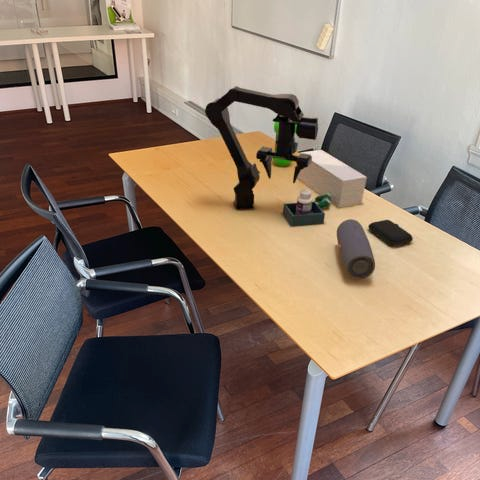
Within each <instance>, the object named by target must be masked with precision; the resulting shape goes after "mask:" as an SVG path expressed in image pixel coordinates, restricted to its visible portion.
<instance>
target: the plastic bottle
mask: <svg viewBox="0 0 480 480" xmlns="http://www.w3.org/2000/svg"><path fill="white" fill-rule="evenodd" d="M278 123H279V122H273V131H274V133H275V139H274V140H275V141H274V149H273V150H272V152H276V148H277V144H276V140H277V135H278ZM296 127H297V124H296V125H295V134H296ZM272 161H273V162H274V163H275V165H276V166H280V167H287V166H288V165H289V164H290V163H292V162H293V161H289V160H284V159H278V158H272Z"/></svg>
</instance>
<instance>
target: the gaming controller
mask: <svg viewBox="0 0 480 480" xmlns="http://www.w3.org/2000/svg"><path fill="white" fill-rule="evenodd" d="M314 200H315V202H316V203H317V202H318V203H317V204H318V206H319V207H320V208H321V209H322V210H323V209H325V208H328V207H329V206H330V205H331V204H332V203H331V195H330V194H329V193H327V194H326V195H317V196H316V197H315V198H314Z"/></svg>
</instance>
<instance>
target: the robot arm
mask: <svg viewBox="0 0 480 480" xmlns="http://www.w3.org/2000/svg"><path fill="white" fill-rule="evenodd" d="M234 102H235V103H239V104H240V103H242V104H245V105H250V106H255V107H259V108H263V109H267V110H270V111H272V112H273V113H274V114H276V115H275V116H274V118H272V122H273V123H274V122H279V123H278V135H277V140H276V139H275V140H276V144H277V148H276V152H273V148H272V147H268V146H262V147H260V148H259V149H258V150H257V151H256V153H255V154H256V155H255V159H257V160H259V163H262V165H263V168H264V169H265V172H266V175H267V178H268V179H269V180H270V179H272V162H273V158H278V159H284V160H289V161H292V162H295V164H296V165H295V166H294V172H293V178H292V183H293V184H295V183H296V181H297V179H298V178H297V177H298V175H299V173H300V171H301V169H304V168H306V167H308V166H309V165H310V164H311V162H312V156H311V155H310V154H304V153H301V152H300V153H301V154H300V153H299V154H300V155H295V154H296V153H297V150H298V145H299V142H297V141H296V137H295V135H296V136H297V137H298V139H303V140H311V141H316V140H317V137H318V133H319V132H318V131H319V117H317V116H316V117H315V116H313V117H309V116H304V115H305V114H304V112H303V111H302V109H301V107H300V101H299V99H298V97H297V96H296V94H293V93H279V94H272V93H266V92H262V91H258V90H253V89H248V88H244V87H239V86H237V85H236V86H233V87H231V88H229V89H228V91H227V92H226V93H225V94H223V95H222V96H221V97H219V98H218V97H217V98H214V99H213V100H211V101H210V102H208V103H207V104H206V106H205V109H204V114H205V116H206V118H207V119H208V120H209V122H210V123H211V125H212V126H214V127H215V128H216V129H217V130H218V132H219V134H220V136H221V138H222V140H223V142H224V145H225V146H226V148H227V150H228V153H229V154H230V157H231V158H232V161H233V162H234V163H233V164H234V166H235V167H236V173H237V180H238V182H237V183H236V185H234V186H233V192H234V201H233V205H234V207H235V208H236V210H250V209H251V210H253V209H254V208H255V206H254V205H255V194H254V190H253V189H254V188H255V187H256V185H257V184H258V183H259V181H260V174H261V171H259V169H258V167H257V164H256V163H255V162H254V163H251V162H250V161H249V160H248V158H247V155H246V154H245V152H244V150H243V147H242V145H241V143H240V141H239V139H238V137H237V134H236V133H235V130H234V128H233V126H232V124H231V118H230V117H231V116H230V112H229V108H228V107H230V106H231V105H232V104H233V103H234ZM296 124H297V127H296V133H295V125H296Z"/></svg>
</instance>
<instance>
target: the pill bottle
mask: <svg viewBox="0 0 480 480" xmlns="http://www.w3.org/2000/svg"><path fill="white" fill-rule="evenodd" d="M312 202H313V198H312V191H311V190H309V189H301V190H300V191H299V195H298V196H297V198H296V203H297V205H296V214H295V215H302V214H311V206H312Z"/></svg>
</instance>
